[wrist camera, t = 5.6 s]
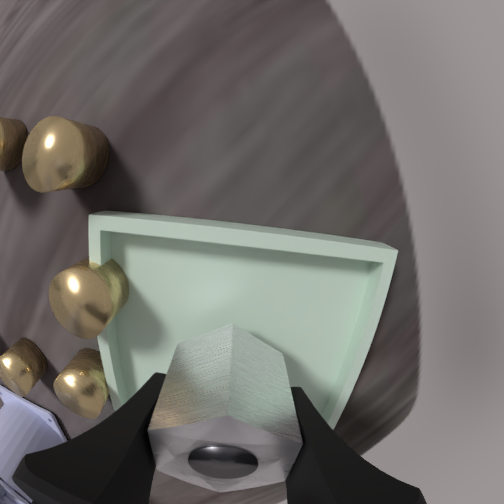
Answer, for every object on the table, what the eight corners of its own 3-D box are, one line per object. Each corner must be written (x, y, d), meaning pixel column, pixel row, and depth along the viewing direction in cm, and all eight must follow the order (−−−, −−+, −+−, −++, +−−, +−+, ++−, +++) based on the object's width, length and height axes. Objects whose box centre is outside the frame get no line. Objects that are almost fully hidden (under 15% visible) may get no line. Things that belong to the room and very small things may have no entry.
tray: (319, 431, 15) (324, 447, 14) (125, 411, 15) (119, 426, 13) (382, 242, 12) (398, 250, 11) (104, 210, 11) (88, 214, 10)
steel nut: (269, 412, 12) (278, 494, 7) (180, 403, 12) (161, 485, 7) (287, 327, 11) (314, 418, 6) (178, 316, 11) (140, 403, 6)
